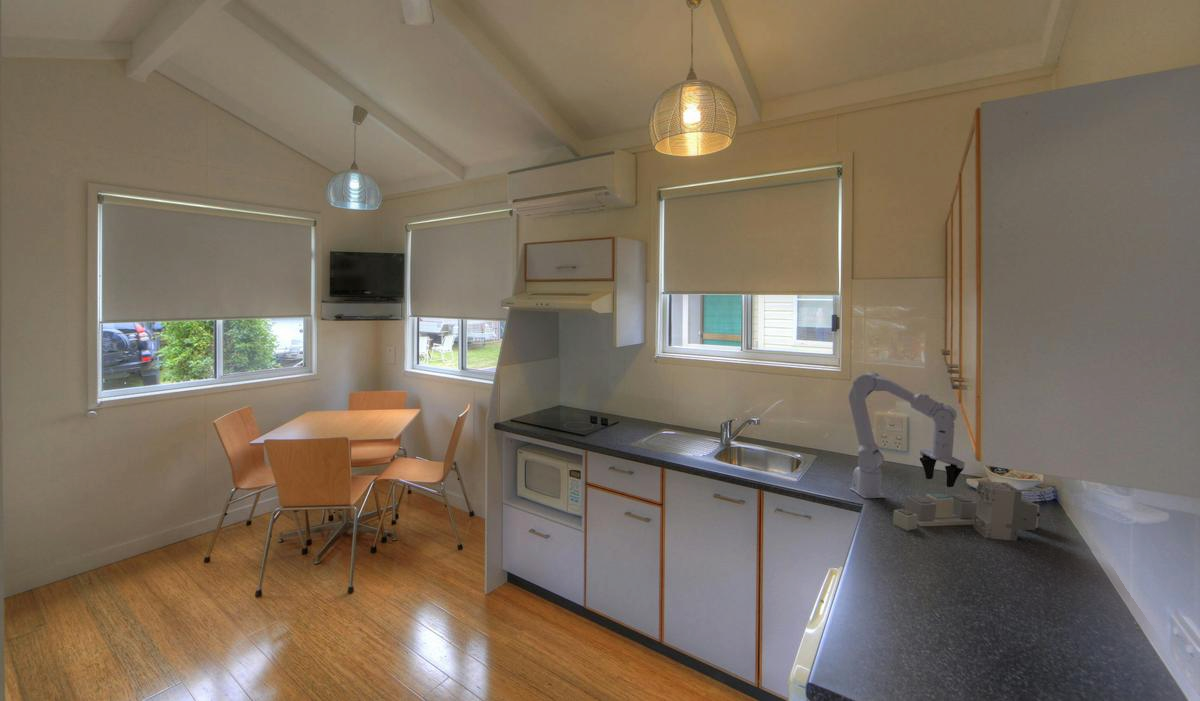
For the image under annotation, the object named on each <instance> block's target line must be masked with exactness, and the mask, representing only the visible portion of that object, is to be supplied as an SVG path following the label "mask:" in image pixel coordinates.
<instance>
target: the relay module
mask: <svg viewBox="0 0 1200 701" xmlns="http://www.w3.org/2000/svg"><path fill="white" fill-rule="evenodd" d="M947 495H948V494H945V493H926V494H925V499H927V500H929V501H931V502H933V503H935V504H936V512H935V518H942V517H952V515H953V503H954V499H953V498H951V497H949V496H947Z"/></svg>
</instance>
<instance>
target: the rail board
mask: <svg viewBox="0 0 1200 701" xmlns="http://www.w3.org/2000/svg"><path fill="white" fill-rule="evenodd" d="M946 495H947V496H949V497H951V498H953V499H954V503H953V515H952V517H942V518H935V512H936V504H935V503H933V502H931V501H929V500H927V499H926V497H923V496H922V495H907V496H905V504H904V506H905V508H904V509H905V510H907V511H910V512H912V513H914V514H916V515H918V516H917V526H919V527H936V526H937V527H938V526H939V527H940V526H941V527H942V526H965V525H969V526H970V525H974V513H977V511H978V503H977V502H976V501H974V500H971V499H970V498H968V497H966V496H963V495H961V494H946ZM976 521H978V519H976Z"/></svg>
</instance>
